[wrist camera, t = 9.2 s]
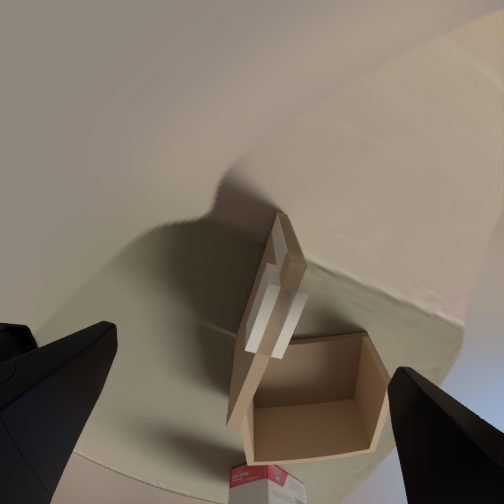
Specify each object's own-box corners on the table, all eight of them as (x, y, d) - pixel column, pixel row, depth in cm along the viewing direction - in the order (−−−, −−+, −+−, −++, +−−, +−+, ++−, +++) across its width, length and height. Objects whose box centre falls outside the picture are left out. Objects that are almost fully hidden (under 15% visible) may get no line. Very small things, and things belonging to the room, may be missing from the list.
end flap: (250, 341, 21) (246, 431, 13) (229, 335, 21) (217, 425, 13) (294, 216, 18) (319, 269, 11) (269, 209, 18) (277, 257, 10)
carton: (249, 407, 24) (247, 465, 18) (241, 343, 21) (236, 404, 16) (357, 396, 23) (374, 451, 17) (366, 331, 21) (394, 387, 15)
